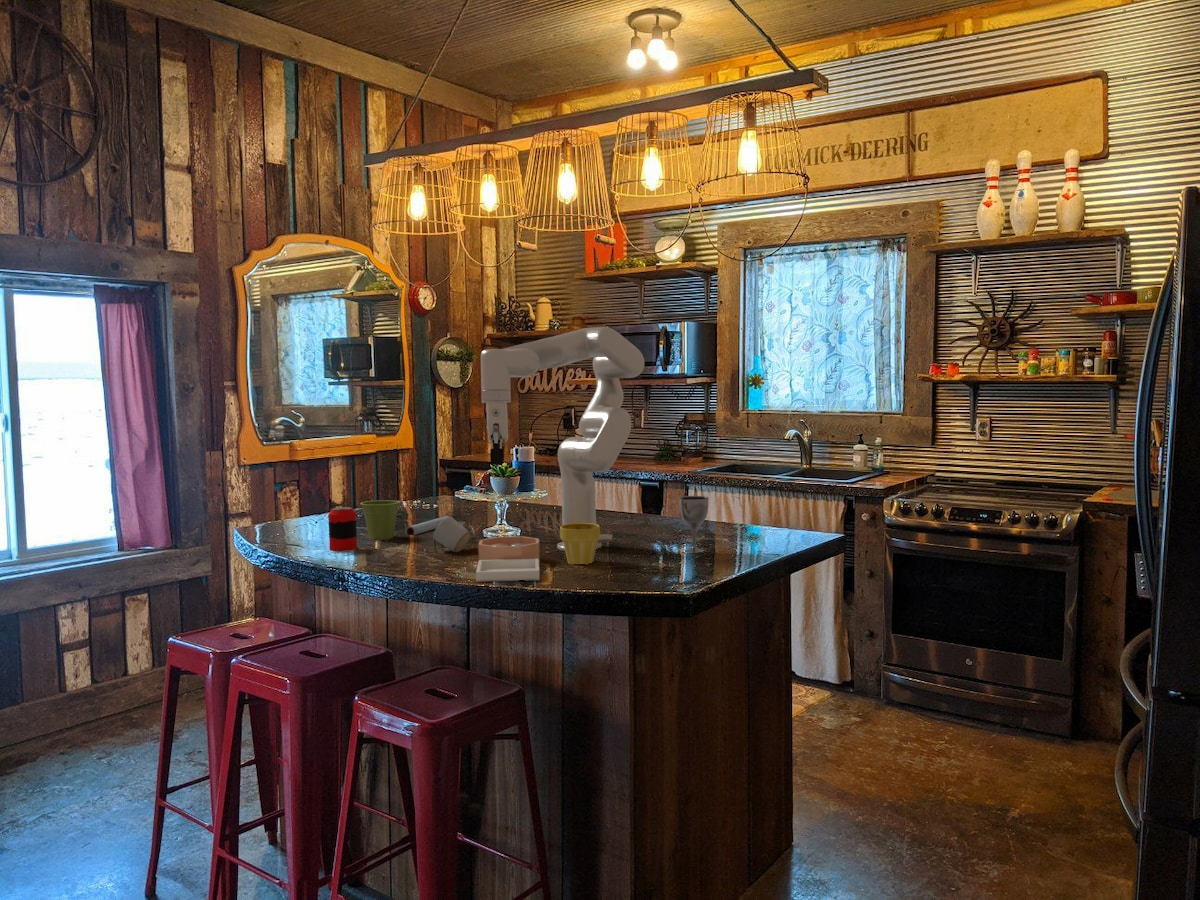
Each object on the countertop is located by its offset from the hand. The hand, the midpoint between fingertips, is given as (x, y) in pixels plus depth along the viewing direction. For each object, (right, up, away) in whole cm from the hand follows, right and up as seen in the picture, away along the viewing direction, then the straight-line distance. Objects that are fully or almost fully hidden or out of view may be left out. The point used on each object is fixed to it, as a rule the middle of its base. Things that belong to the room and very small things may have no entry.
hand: (497, 462), depth 245 cm
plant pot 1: (-40, -24, +41) cm, 62 cm away
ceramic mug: (-14, -25, +19) cm, 35 cm away
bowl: (+3, -26, +2) cm, 26 cm away
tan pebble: (0, -26, +2) cm, 26 cm away
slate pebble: (+5, -26, +2) cm, 26 cm away
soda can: (-46, -25, +23) cm, 58 cm away
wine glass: (+53, -25, +14) cm, 60 cm away
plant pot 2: (+22, -26, 0) cm, 34 cm away
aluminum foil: (-30, -23, +58) cm, 69 cm away
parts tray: (+4, -27, -14) cm, 31 cm away
